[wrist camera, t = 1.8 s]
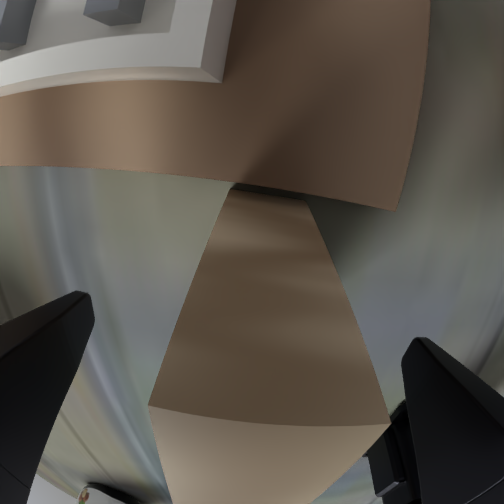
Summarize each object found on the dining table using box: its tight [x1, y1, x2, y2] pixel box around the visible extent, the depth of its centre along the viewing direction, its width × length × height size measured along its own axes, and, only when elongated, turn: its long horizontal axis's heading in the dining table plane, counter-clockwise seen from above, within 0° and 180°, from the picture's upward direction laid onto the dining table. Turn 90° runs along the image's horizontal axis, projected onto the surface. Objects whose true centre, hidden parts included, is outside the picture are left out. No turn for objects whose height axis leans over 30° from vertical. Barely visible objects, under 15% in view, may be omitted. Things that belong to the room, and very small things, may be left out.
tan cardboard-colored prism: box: [148, 189, 391, 504], centre depth 7 cm, size 2×5×8 cm, turn 172°
